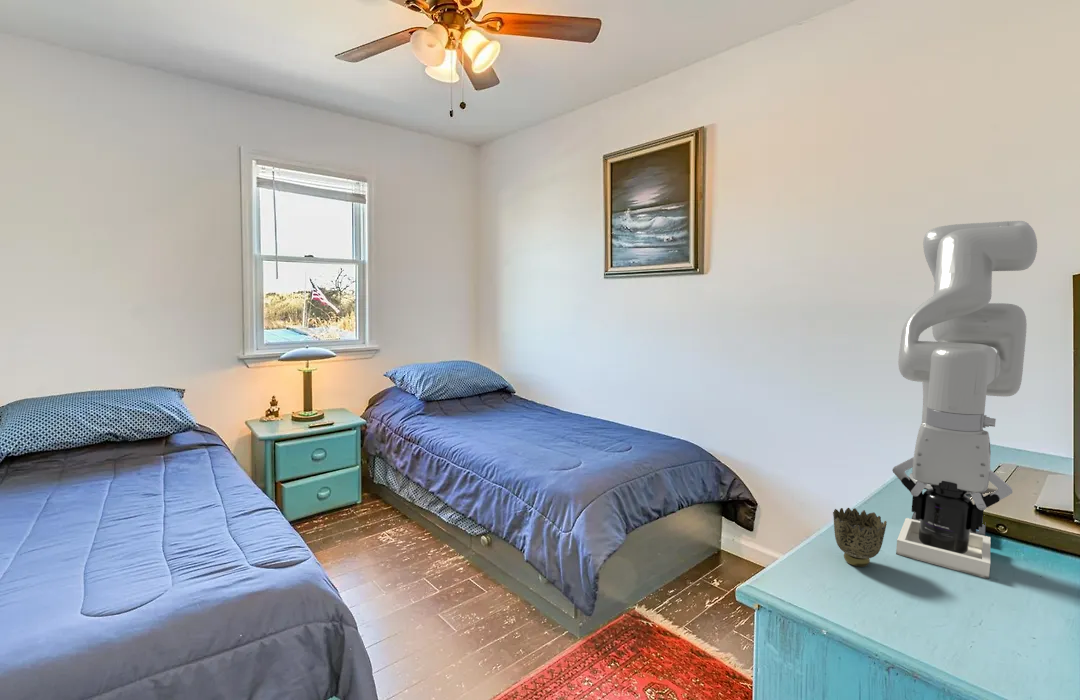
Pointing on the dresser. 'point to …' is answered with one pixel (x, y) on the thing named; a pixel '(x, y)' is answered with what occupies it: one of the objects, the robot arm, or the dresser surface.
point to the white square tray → (945, 551)
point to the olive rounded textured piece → (858, 535)
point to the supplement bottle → (946, 518)
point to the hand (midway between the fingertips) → (945, 522)
